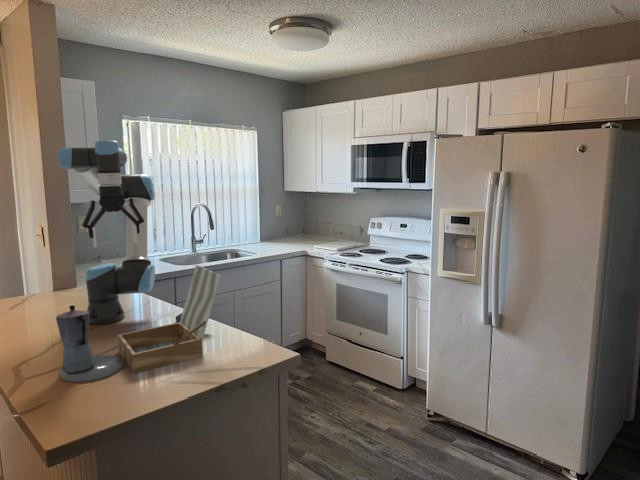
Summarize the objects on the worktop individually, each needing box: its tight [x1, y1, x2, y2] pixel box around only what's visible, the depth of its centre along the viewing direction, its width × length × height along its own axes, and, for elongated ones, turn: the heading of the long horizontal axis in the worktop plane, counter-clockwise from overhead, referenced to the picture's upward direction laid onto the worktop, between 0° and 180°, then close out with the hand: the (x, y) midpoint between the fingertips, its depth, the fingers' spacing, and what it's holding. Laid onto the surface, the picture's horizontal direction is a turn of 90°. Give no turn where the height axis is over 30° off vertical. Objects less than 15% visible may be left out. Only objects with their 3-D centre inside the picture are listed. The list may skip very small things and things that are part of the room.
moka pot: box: [55, 305, 95, 373], centre depth 144 cm, size 10×15×20 cm, turn 51°
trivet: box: [59, 354, 125, 383], centre depth 146 cm, size 18×18×1 cm
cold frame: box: [117, 264, 222, 374], centre depth 158 cm, size 22×30×27 cm
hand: (116, 244), depth 166 cm, fingers open, 13 cm apart
